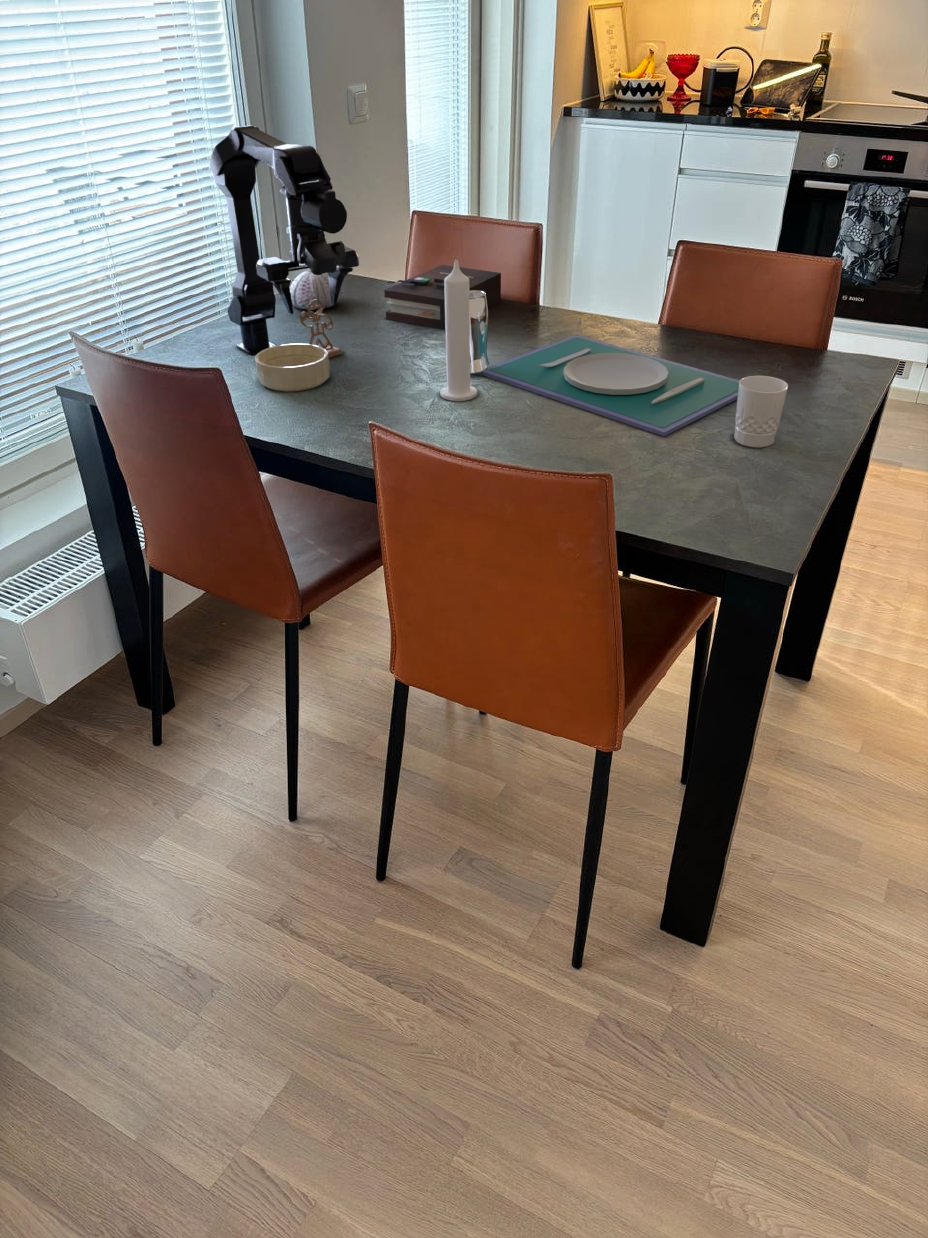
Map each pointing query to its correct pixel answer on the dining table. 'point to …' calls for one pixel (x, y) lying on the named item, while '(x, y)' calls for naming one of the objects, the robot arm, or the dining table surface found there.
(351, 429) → the dining table surface
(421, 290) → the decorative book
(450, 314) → the candle
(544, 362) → the place mat
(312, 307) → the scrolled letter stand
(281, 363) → the bowl
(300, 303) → the sea urchin shell
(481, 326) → the beer glass
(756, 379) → the white cup
